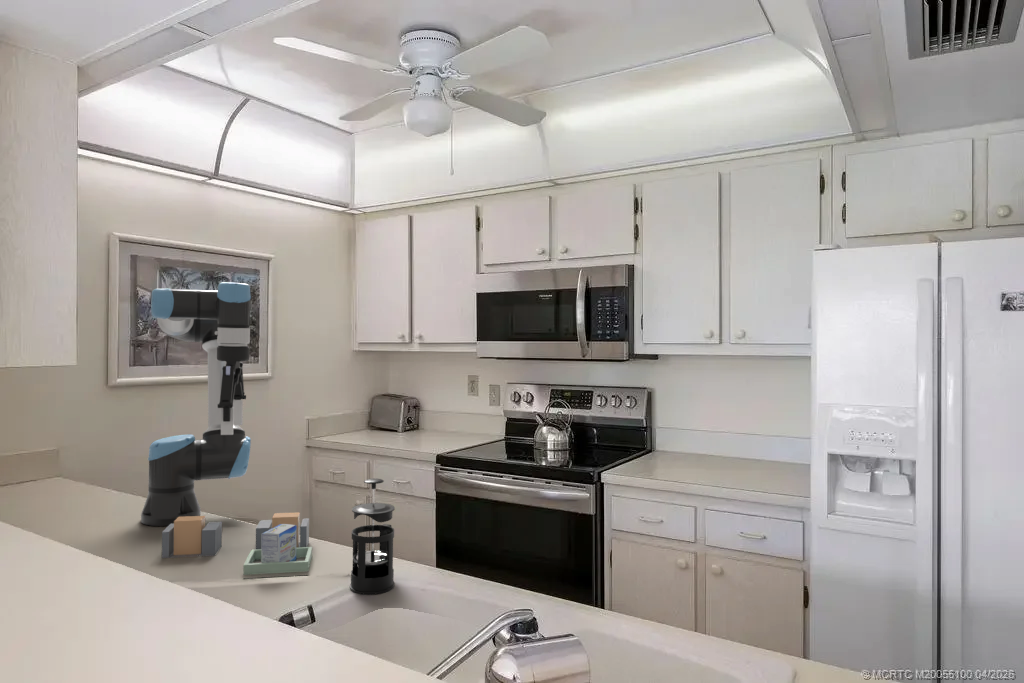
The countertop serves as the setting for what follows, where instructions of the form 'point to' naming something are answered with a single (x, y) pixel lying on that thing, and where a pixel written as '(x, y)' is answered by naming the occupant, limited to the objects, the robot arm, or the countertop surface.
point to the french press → (375, 565)
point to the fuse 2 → (287, 521)
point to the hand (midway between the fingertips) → (232, 429)
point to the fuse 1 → (188, 535)
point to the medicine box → (279, 544)
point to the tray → (277, 564)
